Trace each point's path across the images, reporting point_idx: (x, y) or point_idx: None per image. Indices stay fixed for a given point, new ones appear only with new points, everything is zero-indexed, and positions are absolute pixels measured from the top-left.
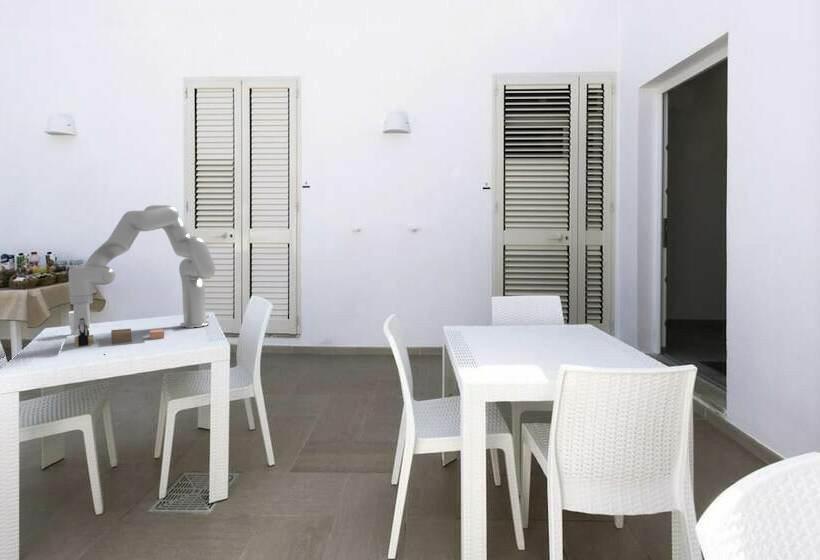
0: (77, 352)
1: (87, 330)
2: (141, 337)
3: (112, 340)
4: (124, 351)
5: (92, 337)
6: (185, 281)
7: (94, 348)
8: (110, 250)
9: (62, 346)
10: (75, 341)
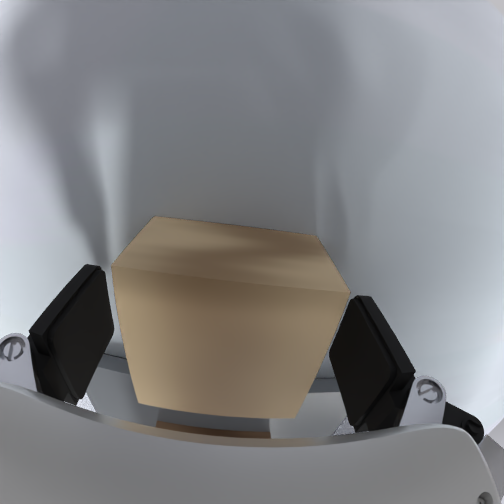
0: (30, 228)
1: (361, 426)
2: None
3: None
4: None
5: (152, 405)
6: None
7: (118, 338)
8: None
9: (370, 117)
10: (124, 257)
